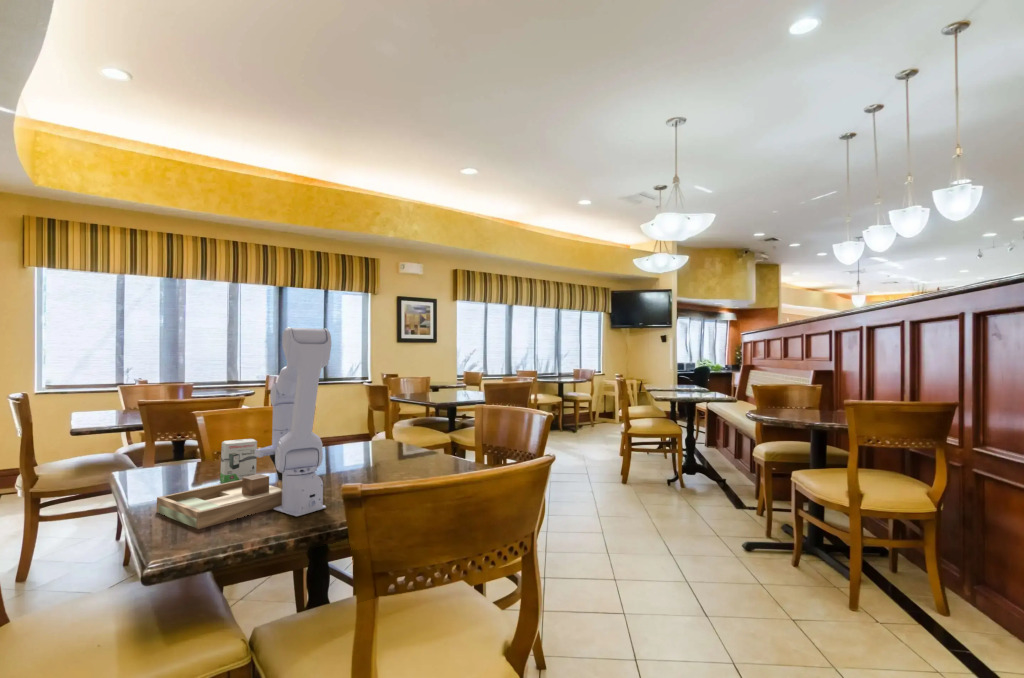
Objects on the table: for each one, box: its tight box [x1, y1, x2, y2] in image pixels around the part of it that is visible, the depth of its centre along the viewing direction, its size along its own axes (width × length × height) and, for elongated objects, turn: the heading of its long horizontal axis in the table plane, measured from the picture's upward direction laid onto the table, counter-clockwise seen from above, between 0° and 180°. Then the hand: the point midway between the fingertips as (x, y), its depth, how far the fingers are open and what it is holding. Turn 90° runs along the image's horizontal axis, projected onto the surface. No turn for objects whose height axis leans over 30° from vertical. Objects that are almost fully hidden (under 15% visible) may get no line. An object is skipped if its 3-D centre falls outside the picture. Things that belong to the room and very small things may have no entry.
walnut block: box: [242, 473, 270, 496], centre depth 125 cm, size 4×4×4 cm
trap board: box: [156, 480, 282, 530], centre depth 120 cm, size 20×24×4 cm
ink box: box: [219, 438, 258, 484], centre depth 144 cm, size 9×5×12 cm, turn 132°
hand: (282, 479), depth 131 cm, fingers closed
